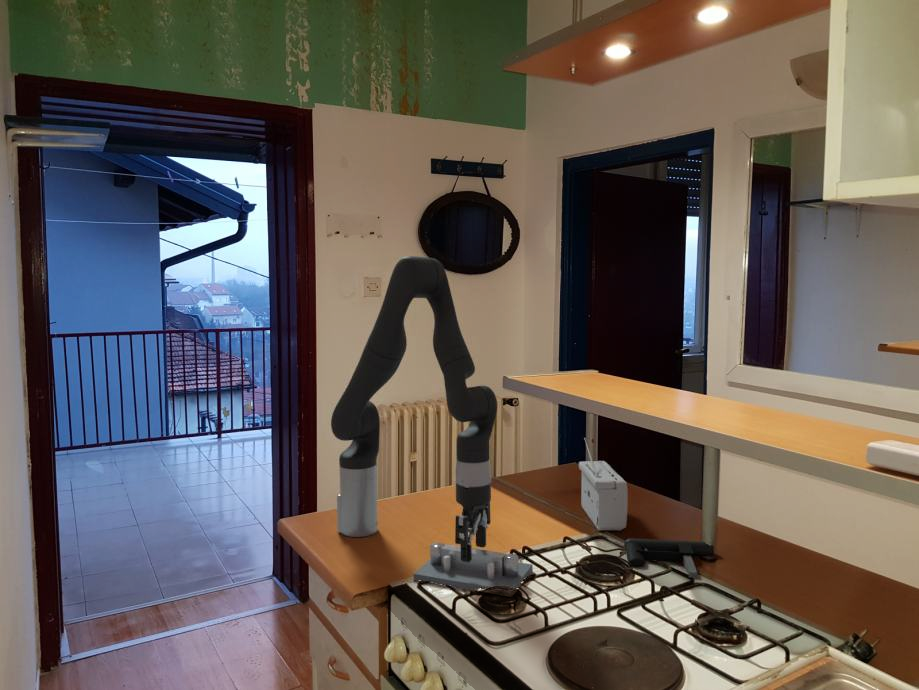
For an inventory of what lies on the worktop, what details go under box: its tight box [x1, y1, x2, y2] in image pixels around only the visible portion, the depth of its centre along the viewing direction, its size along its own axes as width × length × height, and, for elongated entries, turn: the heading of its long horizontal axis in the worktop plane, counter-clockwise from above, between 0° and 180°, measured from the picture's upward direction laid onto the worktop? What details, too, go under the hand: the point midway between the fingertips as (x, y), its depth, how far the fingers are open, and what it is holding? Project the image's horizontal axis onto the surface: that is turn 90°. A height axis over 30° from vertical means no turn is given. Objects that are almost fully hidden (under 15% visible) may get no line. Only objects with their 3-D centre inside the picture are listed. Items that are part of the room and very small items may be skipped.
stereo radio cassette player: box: [578, 437, 629, 532], centre depth 185 cm, size 21×8×20 cm, turn 3°
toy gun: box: [623, 538, 715, 579], centre depth 158 cm, size 3×20×16 cm
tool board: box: [412, 556, 534, 592], centre depth 151 cm, size 22×14×4 cm, turn 67°
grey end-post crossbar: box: [429, 542, 520, 578], centre depth 151 cm, size 20×3×4 cm, turn 67°
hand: (473, 553), depth 150 cm, fingers open, 8 cm apart
